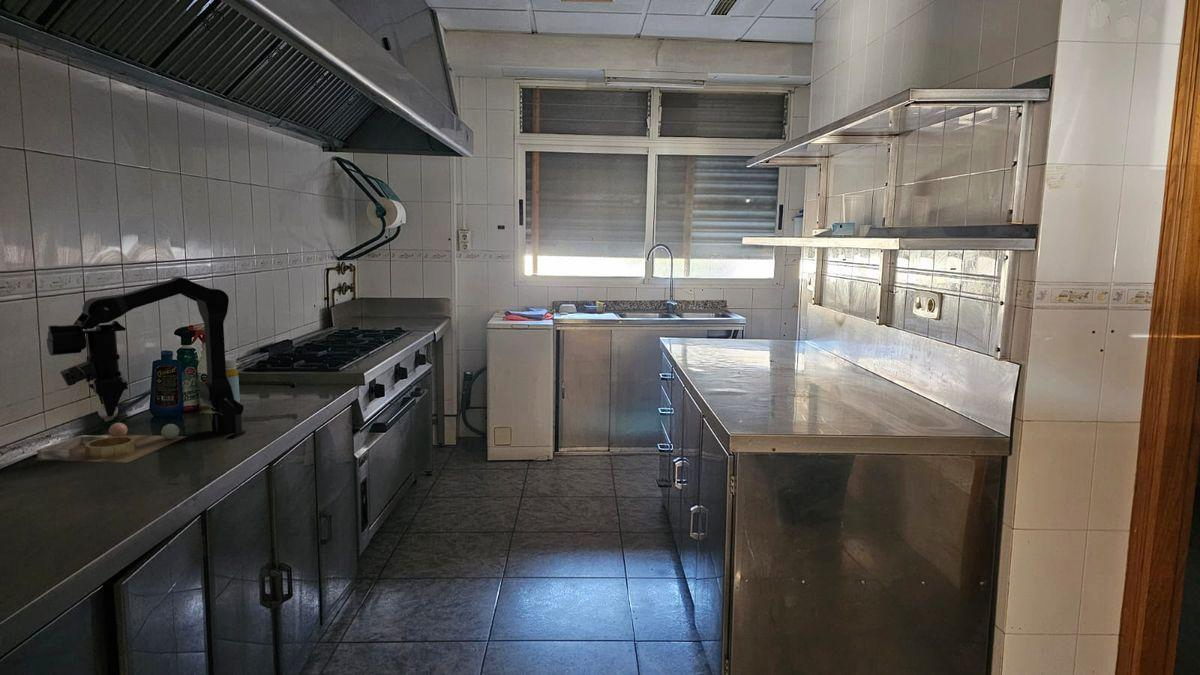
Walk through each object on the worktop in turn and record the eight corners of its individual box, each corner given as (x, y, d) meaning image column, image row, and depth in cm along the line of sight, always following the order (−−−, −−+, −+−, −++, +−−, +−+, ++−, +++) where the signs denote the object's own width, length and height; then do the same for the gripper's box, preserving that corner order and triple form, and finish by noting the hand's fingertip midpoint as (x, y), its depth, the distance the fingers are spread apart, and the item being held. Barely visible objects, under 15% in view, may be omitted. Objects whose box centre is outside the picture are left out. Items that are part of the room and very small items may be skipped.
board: (187, 440, 192) (186, 429, 191) (127, 467, 169) (126, 453, 169) (104, 438, 193) (103, 426, 193) (34, 464, 171) (33, 451, 170)
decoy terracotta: (131, 436, 191) (130, 421, 191) (120, 440, 187) (119, 425, 187) (117, 435, 192) (115, 420, 191) (105, 439, 188) (104, 424, 187)
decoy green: (183, 437, 191) (182, 422, 190) (173, 441, 187) (172, 426, 186) (168, 437, 191) (167, 422, 190) (158, 441, 187) (157, 425, 186)
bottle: (223, 409, 227) (220, 361, 225) (210, 406, 231) (207, 359, 229) (244, 405, 233) (241, 358, 231) (231, 402, 237) (229, 356, 235)
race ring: (145, 446, 182) (144, 436, 182) (116, 458, 172) (115, 448, 172) (106, 445, 182) (105, 435, 182) (75, 457, 173) (74, 447, 172)
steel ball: (122, 416, 178) (121, 400, 177) (110, 420, 174) (109, 404, 174) (106, 416, 178) (105, 400, 178) (94, 420, 174) (93, 404, 174)
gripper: (56, 349, 176) (62, 412, 178) (66, 359, 162) (72, 427, 164) (111, 345, 183) (117, 406, 185) (125, 354, 169) (130, 419, 171)
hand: (108, 414), depth 176 cm, fingers closed on steel ball, 4 cm apart
